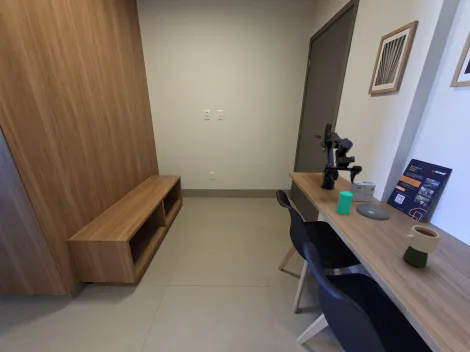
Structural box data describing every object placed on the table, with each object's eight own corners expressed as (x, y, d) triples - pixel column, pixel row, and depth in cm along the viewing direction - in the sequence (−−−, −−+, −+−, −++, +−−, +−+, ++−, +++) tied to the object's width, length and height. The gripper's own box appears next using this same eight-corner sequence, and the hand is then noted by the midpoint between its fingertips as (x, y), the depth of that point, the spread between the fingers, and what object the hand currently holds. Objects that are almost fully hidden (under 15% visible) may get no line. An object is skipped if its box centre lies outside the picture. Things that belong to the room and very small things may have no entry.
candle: (347, 210, 107) (352, 189, 104) (349, 215, 102) (354, 193, 98) (335, 208, 109) (339, 187, 105) (336, 213, 104) (341, 192, 100)
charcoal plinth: (351, 210, 107) (352, 207, 106) (364, 204, 114) (364, 201, 114) (380, 222, 96) (381, 219, 95) (392, 215, 103) (393, 211, 103)
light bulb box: (365, 197, 123) (370, 181, 120) (371, 202, 117) (376, 185, 113) (347, 196, 124) (351, 180, 121) (352, 201, 118) (356, 184, 114)
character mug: (420, 255, 75) (432, 225, 71) (438, 270, 68) (452, 238, 64) (391, 254, 75) (401, 224, 71) (405, 269, 69) (417, 237, 64)
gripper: (327, 149, 110) (329, 174, 103) (365, 151, 106) (368, 177, 100) (322, 159, 119) (323, 183, 113) (356, 162, 116) (359, 186, 110)
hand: (343, 182), depth 108 cm, fingers open, 9 cm apart
